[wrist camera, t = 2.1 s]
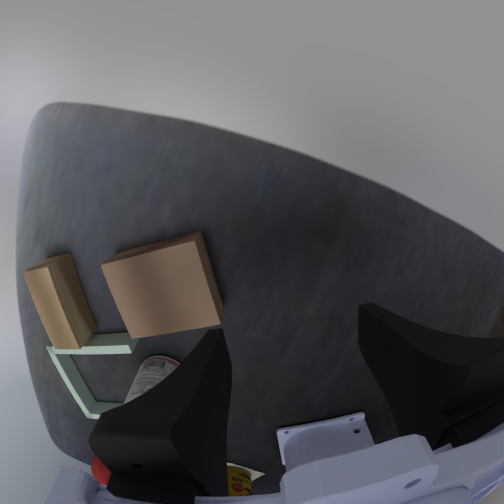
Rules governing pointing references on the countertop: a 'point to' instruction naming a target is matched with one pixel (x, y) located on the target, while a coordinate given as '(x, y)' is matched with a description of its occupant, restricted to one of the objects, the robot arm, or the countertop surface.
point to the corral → (72, 377)
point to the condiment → (240, 480)
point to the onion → (100, 471)
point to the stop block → (61, 301)
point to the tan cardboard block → (165, 286)
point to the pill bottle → (151, 374)
